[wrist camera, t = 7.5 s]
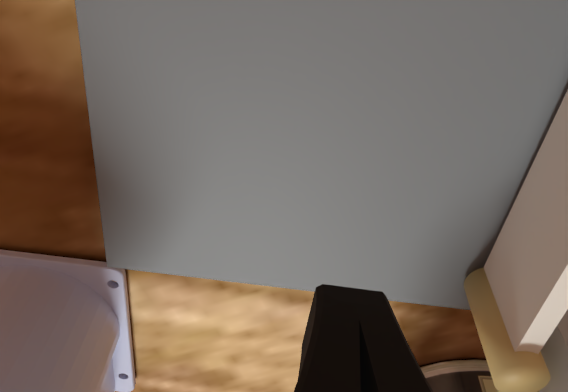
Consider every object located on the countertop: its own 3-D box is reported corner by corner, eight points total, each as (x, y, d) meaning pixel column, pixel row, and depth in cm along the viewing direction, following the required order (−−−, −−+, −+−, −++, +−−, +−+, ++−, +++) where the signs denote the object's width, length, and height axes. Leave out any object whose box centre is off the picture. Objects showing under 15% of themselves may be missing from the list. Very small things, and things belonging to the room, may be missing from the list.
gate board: (536, 301, 23) (606, 456, 18) (114, 250, 23) (48, 394, 17) (905, -309, 11) (1476, -427, 6) (40, -447, 11) (-256, -727, 5)
